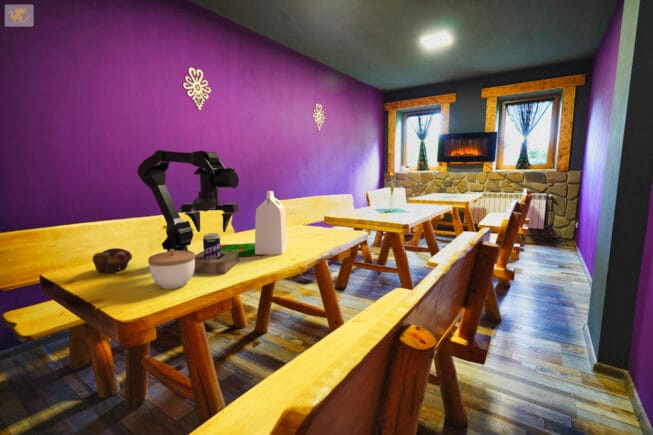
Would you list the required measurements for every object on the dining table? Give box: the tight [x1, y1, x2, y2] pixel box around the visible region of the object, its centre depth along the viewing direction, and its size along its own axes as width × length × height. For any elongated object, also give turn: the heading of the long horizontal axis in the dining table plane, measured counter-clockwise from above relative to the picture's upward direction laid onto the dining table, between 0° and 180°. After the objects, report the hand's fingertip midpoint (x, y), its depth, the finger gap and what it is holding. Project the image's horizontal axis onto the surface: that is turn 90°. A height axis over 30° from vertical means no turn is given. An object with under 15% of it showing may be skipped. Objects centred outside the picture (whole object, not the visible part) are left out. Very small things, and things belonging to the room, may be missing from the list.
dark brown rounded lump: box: [92, 247, 133, 274], centre depth 104 cm, size 10×15×8 cm, turn 0°
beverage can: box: [202, 232, 222, 260], centre depth 108 cm, size 6×6×12 cm
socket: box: [193, 250, 240, 275], centre depth 108 cm, size 14×14×4 cm
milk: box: [254, 190, 288, 256], centre depth 130 cm, size 12×12×26 cm
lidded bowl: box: [147, 249, 196, 290], centre depth 91 cm, size 13×13×11 cm
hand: (211, 231), depth 107 cm, fingers open, 9 cm apart
